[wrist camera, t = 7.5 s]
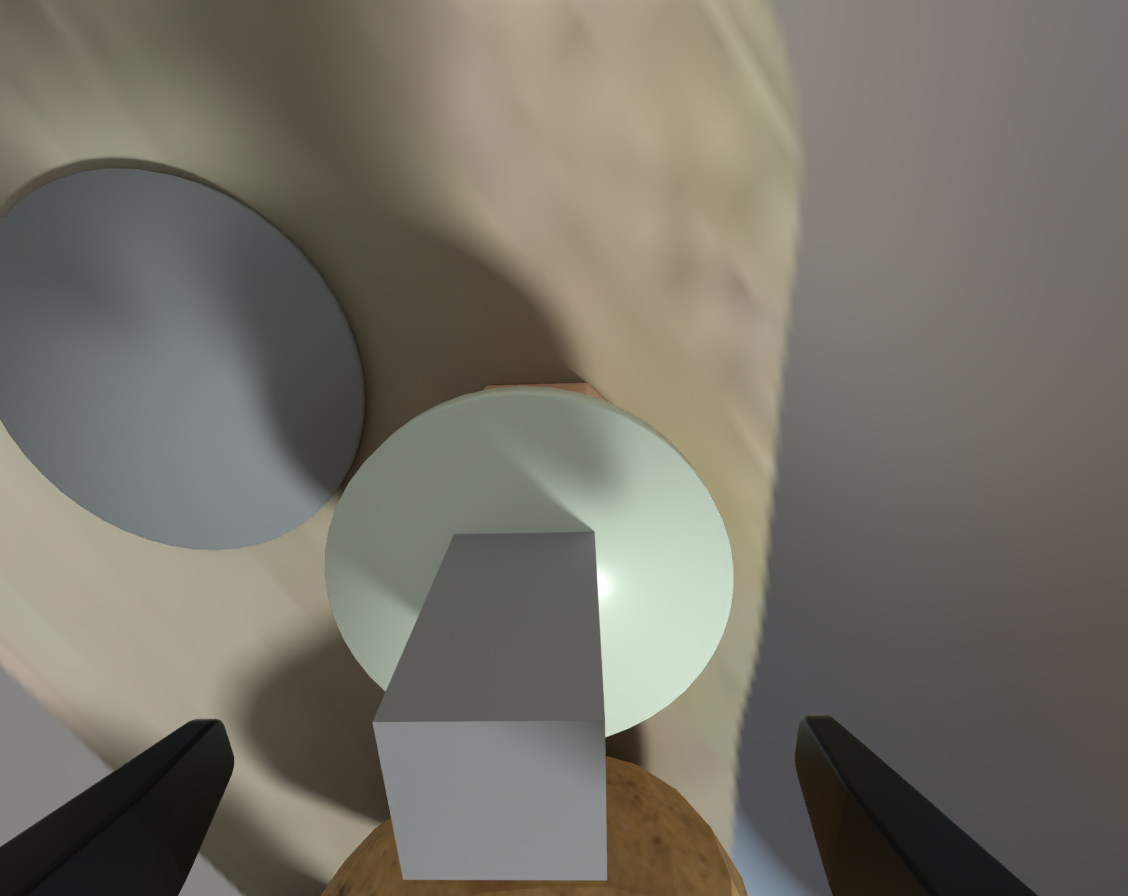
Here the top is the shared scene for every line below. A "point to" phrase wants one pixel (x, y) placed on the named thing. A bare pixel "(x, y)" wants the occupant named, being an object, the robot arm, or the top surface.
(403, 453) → the lid
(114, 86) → the top surface
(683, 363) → the top surface
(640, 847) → the potato
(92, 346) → the mat
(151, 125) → the top surface
